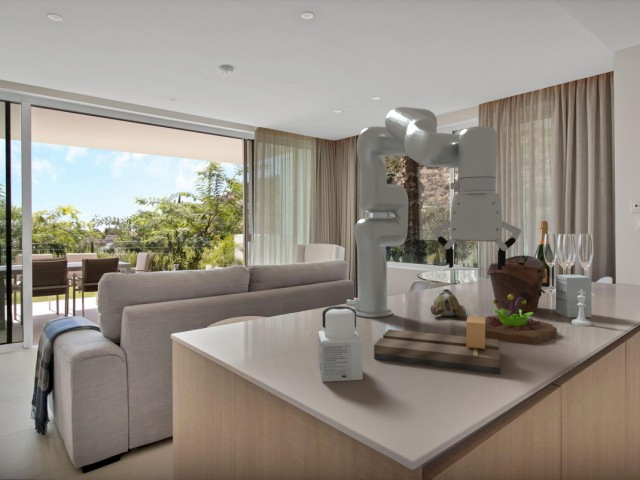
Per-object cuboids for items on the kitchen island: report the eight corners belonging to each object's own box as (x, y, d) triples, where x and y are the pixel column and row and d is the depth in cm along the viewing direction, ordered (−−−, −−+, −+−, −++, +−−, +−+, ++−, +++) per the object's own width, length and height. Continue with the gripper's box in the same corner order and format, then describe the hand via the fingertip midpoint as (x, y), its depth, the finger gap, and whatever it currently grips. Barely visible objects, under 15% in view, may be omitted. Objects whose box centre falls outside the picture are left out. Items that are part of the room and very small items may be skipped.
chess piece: (585, 326, 111) (585, 291, 111) (567, 323, 116) (567, 289, 115) (595, 324, 114) (595, 290, 113) (577, 321, 118) (577, 287, 118)
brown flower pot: (496, 314, 127) (496, 259, 127) (481, 302, 147) (481, 254, 146) (556, 316, 124) (557, 259, 124) (533, 304, 144) (533, 254, 143)
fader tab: (466, 356, 83) (466, 322, 82) (467, 348, 88) (467, 316, 88) (484, 358, 81) (485, 323, 81) (485, 350, 87) (485, 317, 87)
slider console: (374, 358, 86) (374, 344, 86) (388, 341, 99) (388, 328, 99) (500, 374, 77) (500, 357, 76) (498, 352, 89) (498, 338, 89)
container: (318, 367, 81) (317, 304, 81) (355, 366, 82) (355, 303, 81) (321, 382, 73) (321, 312, 73) (362, 380, 74) (362, 311, 74)
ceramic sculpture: (460, 284, 134) (467, 295, 119) (460, 310, 134) (467, 323, 120) (428, 284, 136) (431, 294, 121) (428, 309, 136) (431, 322, 122)
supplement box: (578, 312, 129) (579, 274, 129) (592, 318, 122) (592, 277, 121) (554, 312, 130) (555, 274, 129) (566, 317, 122) (567, 277, 122)
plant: (460, 334, 106) (460, 293, 106) (487, 321, 120) (487, 284, 120) (544, 349, 92) (544, 302, 92) (563, 332, 107) (563, 291, 106)
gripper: (431, 187, 83) (430, 268, 84) (523, 184, 77) (521, 272, 78) (436, 190, 90) (435, 264, 91) (520, 187, 84) (518, 268, 85)
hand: (474, 268), depth 85 cm, fingers open, 9 cm apart
